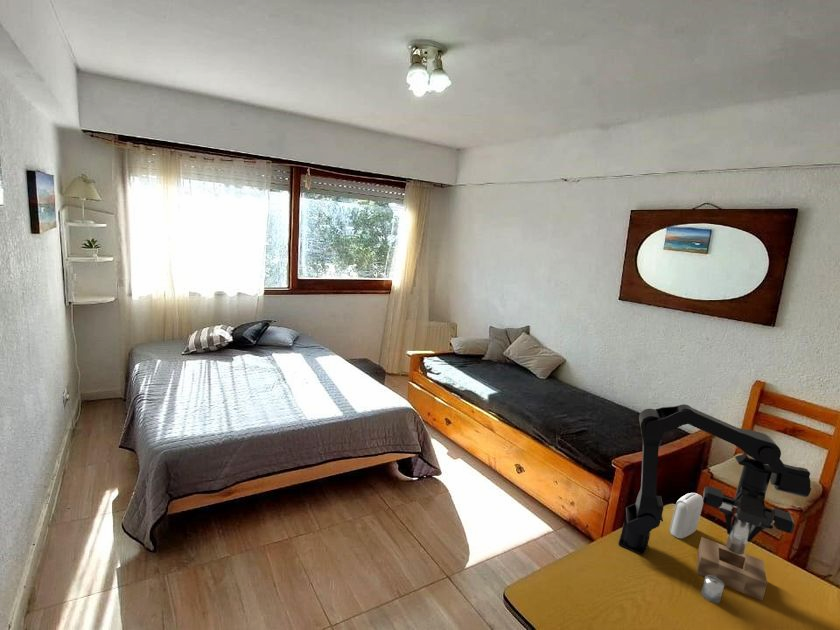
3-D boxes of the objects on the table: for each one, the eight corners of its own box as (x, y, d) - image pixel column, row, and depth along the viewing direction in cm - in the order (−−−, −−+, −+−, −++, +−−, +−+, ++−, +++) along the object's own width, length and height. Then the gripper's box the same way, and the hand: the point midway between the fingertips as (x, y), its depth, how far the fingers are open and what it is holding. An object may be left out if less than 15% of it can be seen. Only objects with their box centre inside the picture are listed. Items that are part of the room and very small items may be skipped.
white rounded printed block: (683, 522, 140) (692, 487, 138) (698, 531, 137) (707, 494, 134) (666, 532, 134) (675, 495, 132) (681, 541, 131) (690, 503, 128)
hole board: (697, 573, 118) (701, 557, 117) (697, 552, 127) (701, 536, 126) (762, 601, 111) (767, 583, 110) (758, 576, 120) (763, 560, 119)
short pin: (701, 597, 110) (705, 581, 109) (701, 587, 114) (705, 572, 113) (720, 606, 108) (724, 590, 107) (719, 595, 112) (724, 580, 111)
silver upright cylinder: (725, 541, 120) (733, 511, 118) (743, 548, 118) (752, 517, 116) (726, 549, 117) (734, 518, 115) (744, 556, 115) (753, 525, 113)
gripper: (710, 482, 112) (696, 537, 115) (806, 514, 102) (787, 573, 105) (710, 464, 121) (696, 516, 124) (797, 492, 112) (781, 547, 115)
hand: (738, 537), depth 117 cm, fingers closed on silver upright cylinder, 4 cm apart
